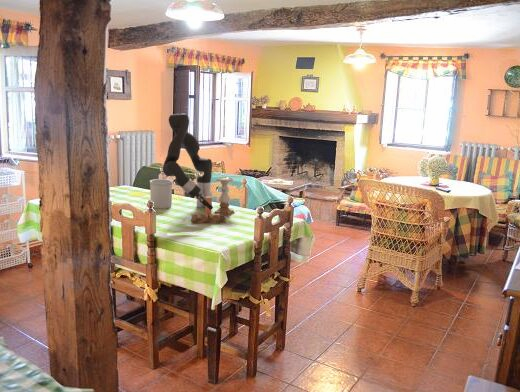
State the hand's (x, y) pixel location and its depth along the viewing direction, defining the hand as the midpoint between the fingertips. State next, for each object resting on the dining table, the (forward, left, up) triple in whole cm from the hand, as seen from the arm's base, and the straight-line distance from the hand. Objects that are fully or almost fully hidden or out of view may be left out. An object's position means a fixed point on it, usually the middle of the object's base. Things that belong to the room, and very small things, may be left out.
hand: (211, 208), depth 278 cm
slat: (+2, -1, -7) cm, 7 cm away
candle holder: (-17, -6, -9) cm, 20 cm away
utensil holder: (-3, -52, -9) cm, 53 cm away
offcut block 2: (+2, +4, -7) cm, 8 cm away
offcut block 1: (+7, 0, -7) cm, 10 cm away
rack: (+4, +2, -9) cm, 10 cm away
